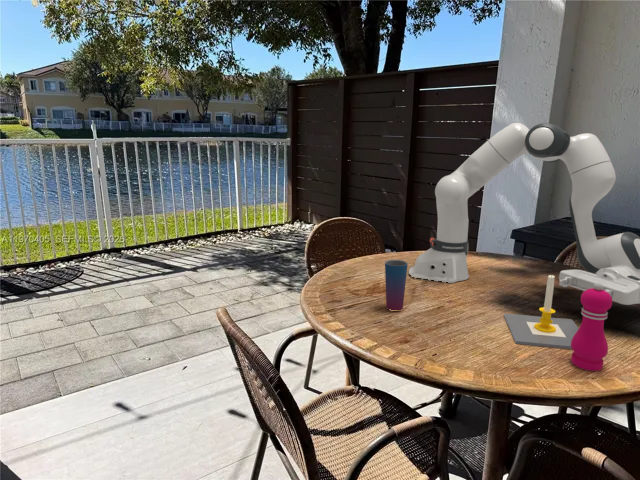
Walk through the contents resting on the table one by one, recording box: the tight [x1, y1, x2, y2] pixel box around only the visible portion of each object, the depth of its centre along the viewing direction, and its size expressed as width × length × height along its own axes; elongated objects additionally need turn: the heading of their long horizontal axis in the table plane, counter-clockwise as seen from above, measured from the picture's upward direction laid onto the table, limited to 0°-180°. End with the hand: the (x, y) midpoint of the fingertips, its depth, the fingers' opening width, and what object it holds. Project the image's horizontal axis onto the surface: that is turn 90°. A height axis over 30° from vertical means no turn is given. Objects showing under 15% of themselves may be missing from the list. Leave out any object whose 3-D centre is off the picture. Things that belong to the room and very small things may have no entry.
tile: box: [503, 313, 580, 351], centre depth 114 cm, size 18×18×1 cm
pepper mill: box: [570, 283, 613, 372], centre depth 96 cm, size 7×7×20 cm
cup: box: [384, 259, 408, 310], centre depth 129 cm, size 7×7×15 cm
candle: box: [534, 274, 556, 333], centre depth 113 cm, size 5×5×16 cm
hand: (576, 289), depth 115 cm, fingers open, 8 cm apart
